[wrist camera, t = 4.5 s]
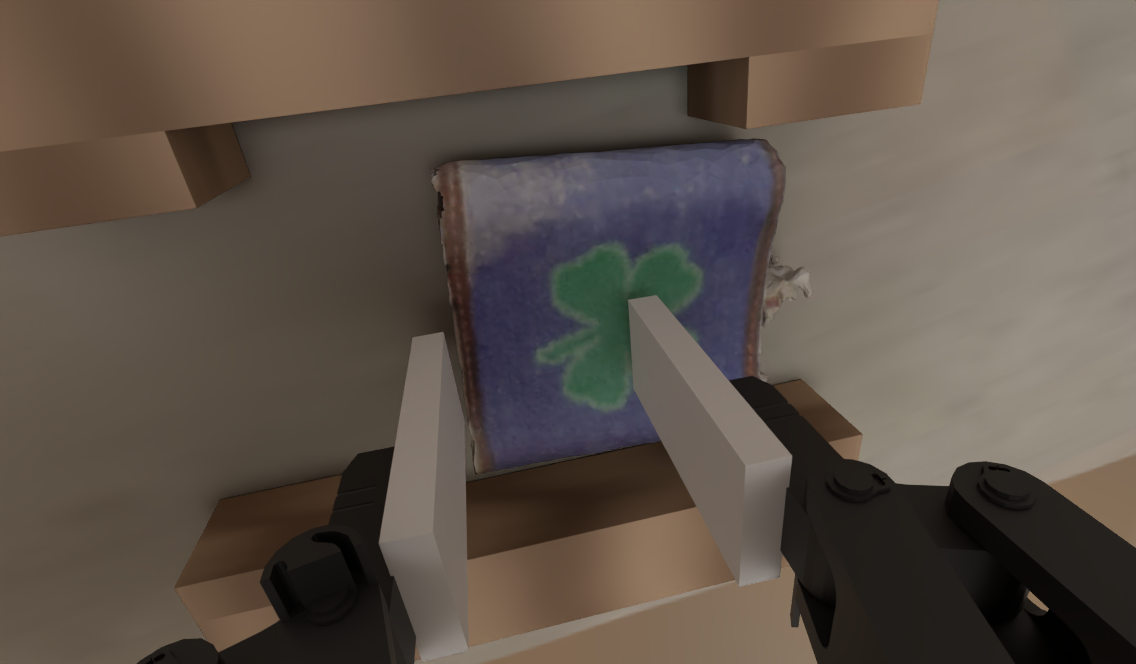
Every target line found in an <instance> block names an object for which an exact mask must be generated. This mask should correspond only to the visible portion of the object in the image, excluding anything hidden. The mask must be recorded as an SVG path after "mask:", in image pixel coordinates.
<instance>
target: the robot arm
mask: <svg viewBox="0 0 1136 664" xmlns="http://www.w3.org/2000/svg"><path fill="white" fill-rule="evenodd" d="M628 306H629V322H630V339H631V355H632V371H633V388H634V390H635V392H636V394H637V396H638V398H639V400H640V402H641V404H642V405H643V407H644V409H645V411H646V413H647V415H648V417H649V419H650V420H651V422H652V424H653V426H654V428H655V430H656V432H657V434H658V435H659V437H660V439H661V441H662V443H663V445H664V447H665V449H666V450H667V452H668V454H669V456H670V458H671V460H672V462H673V464H674V466H675V467H676V469H677V471H678V473H679V475H680V477H681V479H682V481H683V482H684V484H685V486H686V488H687V490H688V492H689V494H690V496H691V497H692V499H693V501H694V503H695V505H696V507H697V509H698V511H699V512H700V514H701V516H702V518H703V520H704V522H705V524H706V526H707V527H708V529H709V531H710V533H711V535H712V537H713V539H714V541H715V542H716V544H717V546H718V548H719V550H720V552H721V554H722V556H723V557H724V559H725V561H726V563H727V565H728V567H729V569H730V571H731V572H732V574H733V576H734V578H735V580H736V582H737V584H738V585H739V587H740V586H744V585H748V584H753V583H757V582H761V581H765V580H770V579H773V578H778V577H780V571H781V561H782V554H783V556H784V557H785V559H786V560H787V562H788V563H789V565H790V566H791V568H792V569H793V571H794V572H795V580H794V588H793V597H792V605H791V613H790V617H791V626H792V627H798V625H799V617H800V614H801V616H802V619H803V622H804V625H805V628H806V631H807V634H808V636H809V640H810V643H811V646H812V649H813V651H814V654H815V657H816V660H817V663H818V664H1136V548H1135V547H1134V546H1132V545H1131V544H1129V543H1128V542H1127V541H1125V540H1124V539H1122V538H1121V537H1120V536H1118V535H1117V534H1115V533H1114V532H1113V531H1111V530H1110V529H1108V528H1107V527H1106V526H1104V525H1103V524H1102V523H1100V522H1099V521H1097V520H1096V519H1095V518H1093V517H1092V516H1090V515H1089V514H1088V513H1086V512H1085V511H1083V510H1082V509H1080V508H1079V507H1078V506H1077V505H1075V504H1074V503H1072V502H1071V501H1070V500H1068V499H1067V498H1065V497H1064V496H1063V495H1061V494H1060V493H1058V492H1057V491H1056V490H1054V489H1053V488H1051V487H1050V486H1049V485H1047V484H1046V483H1044V482H1043V481H1041V480H1039V479H1038V478H1036V477H1034V476H1032V475H1031V474H1029V473H1027V472H1025V471H1022V470H1019V469H1017V468H1014V467H1011V466H1008V465H1005V464H998V463H992V462H986V461H985V462H970V463H967V464H964V465H962V466H960V467H958V468H957V469H956V470H955V472H954V474H953V476H952V478H951V482H950V485H949V486H928V485H905V484H896V483H895V482H894V481H893V480H892V479H891V478H890V477H889V476H888V475H887V474H886V473H884V472H883V471H881V470H879V469H877V468H876V467H874V466H872V465H870V464H867V463H863V462H860V461H857V460H853V459H844V458H843V457H842V456H841V455H840V454H839V453H838V452H837V451H836V450H835V449H834V448H833V447H832V446H831V445H830V444H829V443H828V442H827V441H826V440H825V439H824V438H823V437H822V436H821V435H820V434H819V433H818V432H817V431H816V430H815V428H814V427H813V426H812V425H811V424H810V423H809V422H808V421H807V420H806V419H805V418H804V417H803V416H800V415H799V412H798V411H797V410H796V409H795V408H794V407H793V406H792V405H791V404H788V401H787V400H786V399H785V398H784V396H783V395H782V394H781V393H780V392H779V391H778V390H777V389H776V388H775V387H774V386H772V385H770V384H768V383H766V382H764V381H762V380H760V379H758V378H756V377H754V376H748V377H743V378H738V379H732V380H728V379H727V378H726V377H725V376H724V374H723V373H722V372H721V371H720V370H719V369H718V367H717V366H716V365H715V364H714V363H713V361H712V360H711V359H710V358H709V357H708V355H707V354H706V353H705V352H704V351H703V350H702V348H701V347H700V346H699V345H698V344H697V342H696V341H695V340H694V339H693V338H692V337H691V335H690V334H689V333H688V332H687V331H686V329H685V328H684V327H683V326H682V325H681V324H680V322H679V321H678V320H677V319H676V318H675V316H674V315H673V314H672V313H671V312H670V310H669V309H668V308H667V307H666V306H665V305H664V303H663V302H662V301H661V300H660V299H659V297H658V296H657V295H654V296H648V297H642V298H636V299H631V300H628ZM337 495H338V496H337V497H336V498H335V502H334V506H333V509H332V510H333V513H332V514H331V516H330V520H329V523H328V525H325V526H321V527H316V528H312V529H310V530H308V531H306V532H304V533H302V534H300V535H298V536H296V537H294V538H292V539H291V540H290V541H289V542H287V543H286V544H285V545H283V546H282V547H281V548H280V549H278V550H277V551H276V552H275V554H274V555H273V556H272V558H271V559H270V560H269V562H268V563H267V564H266V565H265V567H264V570H263V573H262V576H261V579H260V584H261V586H262V588H263V590H264V591H265V593H266V595H267V597H268V599H269V601H270V603H271V605H272V606H273V608H274V610H275V612H276V614H277V616H278V618H279V619H280V620H279V621H277V622H276V623H274V624H273V625H271V626H269V627H268V628H266V629H264V630H262V631H261V632H259V633H257V634H255V635H253V636H251V637H249V638H247V639H244V640H242V641H240V642H238V643H236V644H234V645H232V646H230V647H228V648H226V649H224V650H222V651H220V652H218V651H217V650H216V648H215V646H214V645H213V644H211V643H209V642H207V641H205V640H203V639H201V638H199V639H183V640H180V641H177V642H174V643H172V644H169V645H166V646H163V647H161V648H160V649H158V650H156V651H155V652H153V653H152V654H150V655H148V656H147V657H145V658H144V659H142V660H140V661H139V662H138V663H137V664H414V660H415V646H417V648H418V651H419V654H420V657H421V659H422V662H425V661H429V660H433V659H437V658H442V657H446V656H450V655H454V654H458V653H463V652H467V651H469V633H468V578H467V524H466V469H465V421H464V416H463V412H462V408H461V404H460V399H459V395H458V391H457V387H456V382H455V378H454V374H453V370H452V365H451V361H450V357H449V353H448V349H447V344H446V340H445V336H444V332H440V333H434V334H428V335H422V336H417V337H413V338H412V344H411V350H410V357H409V363H408V369H407V375H406V381H405V387H404V393H403V399H402V405H401V411H400V417H399V423H398V429H397V436H396V442H395V447H390V448H385V449H380V450H374V451H369V452H364V453H359V454H357V456H356V457H355V458H354V459H353V461H352V462H351V463H350V464H349V466H348V467H347V468H346V469H345V471H344V472H343V473H342V477H341V481H340V484H339V488H338V491H337ZM1029 591H1031V592H1032V593H1033V594H1034V595H1035V596H1036V597H1037V598H1038V599H1039V600H1040V601H1042V602H1043V603H1044V604H1045V605H1046V606H1047V607H1048V608H1049V610H1048V612H1047V611H1045V610H1042V609H1040V608H1039V607H1038V606H1036V605H1035V604H1034V603H1032V602H1031V601H1030V600H1029V599H1028V598H1027V595H1028V593H1029Z"/></svg>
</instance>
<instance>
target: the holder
mask: <svg viewBox="0 0 1136 664" xmlns="http://www.w3.org/2000/svg"><path fill="white" fill-rule="evenodd" d="M938 2H939V0H0V236H7V235H14V234H20V233H27V232H34V231H41V230H48V229H55V228H62V227H69V226H76V225H83V224H90V223H97V222H104V221H111V220H118V219H125V218H132V217H139V216H146V215H152V214H159V213H166V212H173V211H180V210H187V209H194V208H198V207H199V206H201V205H203V204H205V203H206V202H208V201H210V200H211V199H213V198H215V197H217V196H218V195H220V194H222V193H223V192H225V191H227V190H229V189H230V188H232V187H234V186H235V185H237V184H239V183H241V182H242V181H244V180H246V179H247V178H249V177H251V176H250V173H249V170H248V168H247V165H246V162H245V159H244V157H243V154H242V151H241V148H240V146H239V143H238V140H237V137H236V135H235V132H234V129H233V126H232V124H231V122H239V121H247V120H255V119H263V118H271V117H279V116H287V115H295V114H303V113H310V112H318V111H326V110H334V109H342V108H350V107H358V106H366V105H374V104H382V103H389V102H397V101H405V100H413V99H421V98H429V97H437V96H445V95H453V94H460V93H468V92H476V91H484V90H492V89H500V88H508V87H516V86H524V85H532V84H539V83H547V82H555V81H563V80H571V79H579V78H587V77H595V76H603V75H611V74H618V73H626V72H634V71H642V70H650V69H658V68H666V67H674V66H682V65H688V116H691V117H696V118H700V119H704V120H709V121H713V122H718V123H722V124H726V125H731V126H735V127H740V128H744V129H750V128H757V127H764V126H771V125H778V124H785V123H792V122H799V121H806V120H813V119H820V118H826V117H833V116H840V115H847V114H854V113H861V112H868V111H875V110H882V109H889V108H896V107H903V106H910V105H917V104H921V99H922V94H923V88H924V82H925V76H926V71H927V65H928V59H929V54H930V48H931V42H932V37H933V31H934V25H935V19H936V14H937V8H938ZM772 386H774V387H775V388H776V389H777V390H778V391H779V392H780V393H781V394H782V395H783V396H784V398H785V399H786V400H787V401H788V404H791V405H792V406H793V407H794V408H795V409H796V410H797V411H798V412H799V415H800V416H803V417H804V418H805V419H806V420H807V421H808V422H809V423H810V424H811V425H812V426H813V427H814V428H815V430H816V431H817V432H818V433H819V434H820V435H821V436H822V437H823V438H824V439H825V440H826V441H827V442H828V443H829V444H830V445H831V446H832V447H833V448H834V449H835V450H836V451H837V452H838V453H839V454H840V455H841V456H842V457H843V458H844V459H853V460H857V461H858V458H859V453H860V447H861V441H862V435H863V434H862V433H861V432H859V431H858V430H857V429H856V428H855V427H854V426H853V425H852V424H851V423H849V422H848V421H847V420H846V419H845V418H844V417H843V416H842V415H841V414H839V413H838V412H837V411H836V410H835V409H834V408H833V407H832V406H831V405H829V404H828V403H827V402H826V401H825V400H824V399H823V398H822V397H821V396H819V395H818V394H817V393H816V392H815V391H814V390H813V389H812V388H811V387H809V386H808V385H807V384H806V383H805V382H804V381H803V380H802V379H801V380H797V381H792V382H787V383H782V384H777V385H772ZM341 477H342V475H338V476H333V477H328V478H323V479H319V480H314V481H309V482H304V483H299V484H294V485H290V486H285V487H280V488H275V489H270V490H266V491H261V492H256V493H251V494H246V495H241V496H237V497H232V498H227V499H222V500H220V501H219V503H218V505H217V507H216V509H215V511H214V512H213V514H212V516H211V518H210V520H209V522H208V524H207V526H206V528H205V530H204V532H203V534H202V536H201V538H200V539H199V541H198V543H197V545H196V547H195V549H194V551H193V553H192V555H191V557H190V559H189V561H188V563H187V564H186V566H185V568H184V570H183V572H182V574H181V576H180V578H179V580H178V582H177V584H176V586H175V588H174V589H175V591H176V592H177V594H178V596H179V597H180V599H181V600H182V602H183V603H184V605H185V606H186V608H187V610H188V611H189V613H190V614H191V616H192V617H193V619H194V620H195V622H196V623H197V625H198V627H199V628H200V630H201V631H202V633H203V634H204V636H205V637H206V639H207V640H208V642H209V643H211V644H213V645H214V646H215V648H216V650H217V651H218V652H220V651H222V650H224V649H226V648H228V647H230V646H232V645H234V644H236V643H238V642H240V641H242V640H244V639H247V638H249V637H251V636H253V635H255V634H257V633H259V632H261V631H262V630H264V629H266V628H268V627H269V626H271V625H273V624H274V623H276V622H277V621H279V620H280V619H279V618H278V616H277V614H276V612H275V610H274V608H273V606H272V605H271V603H270V601H269V599H268V597H267V595H266V593H265V591H264V590H263V588H262V586H261V584H260V579H261V576H262V573H263V570H264V567H265V565H266V564H267V563H268V562H269V560H270V559H271V558H272V556H273V555H274V554H275V552H276V551H277V550H278V549H280V548H281V547H282V546H283V545H285V544H286V543H287V542H289V541H290V540H291V539H292V538H294V537H296V536H298V535H300V534H302V533H304V532H306V531H308V530H310V529H312V528H316V527H321V526H325V525H328V523H329V520H330V516H331V514H332V513H333V510H332V509H333V506H334V502H335V498H336V497H337V496H338V495H337V491H338V488H339V484H340V481H341ZM466 524H467V578H468V633H469V647H470V646H474V645H478V644H482V643H486V642H490V641H494V640H498V639H502V638H506V637H510V636H514V635H518V634H522V633H526V632H530V631H534V630H538V629H542V628H546V627H550V626H554V625H558V624H562V623H566V622H569V621H573V620H577V619H581V618H585V617H589V616H593V615H597V614H601V613H605V612H609V611H613V610H617V609H621V608H625V607H629V606H633V605H637V604H641V603H645V602H649V601H653V600H657V599H661V598H665V597H669V596H673V595H677V594H681V593H685V592H689V591H692V590H696V589H700V588H704V587H708V586H712V585H716V584H720V583H724V582H728V581H732V580H735V578H734V576H733V574H732V572H731V571H730V569H729V567H728V565H727V563H726V561H725V559H724V557H723V556H722V554H721V552H720V550H719V548H718V546H717V544H716V542H715V541H714V539H713V537H712V535H711V533H710V531H709V529H708V527H707V526H706V524H705V522H704V520H703V518H702V516H701V514H700V512H699V511H698V509H697V507H696V505H695V503H694V501H693V499H692V497H691V496H690V494H689V492H688V490H687V488H686V486H685V484H684V482H683V481H682V479H681V477H680V475H679V473H678V471H677V469H676V467H675V466H674V464H673V462H672V460H671V458H670V456H669V454H668V452H667V450H666V449H665V447H664V445H663V443H662V441H659V442H655V443H650V444H645V445H641V446H636V447H631V448H627V449H622V450H617V451H613V452H608V453H603V454H599V455H594V456H589V457H585V458H580V459H575V460H571V461H566V462H561V463H557V464H552V465H548V466H543V467H538V468H534V469H529V470H524V471H520V472H515V473H510V474H506V475H501V476H496V477H492V478H487V479H482V480H478V481H473V482H468V483H466ZM788 566H790V565H789V563H788V562H787V560H786V559H785V557H784V556H783V554H782V561H781V568H784V567H788ZM419 659H421V657H420V654H419V651H418V648H417V646H415V660H419ZM415 660H414V661H415Z"/></svg>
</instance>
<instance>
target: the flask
mask: <svg viewBox="0 0 1136 664" xmlns="http://www.w3.org/2000/svg"><path fill="white" fill-rule="evenodd" d="M430 170H431V171H432V174H431V176H430V177H431V179H432V180H431V182H432V184H433V186H434V188H435V190H436V192H438V206H437V210H438V213H437V217H438V222H439V227H440V228H439V229H440V230H441V243H443V252H444V257H443V261H444V265H446V266H447V272H448V280H447V284H448V287H449V297H450V306H451V310H452V316H453V324H454V333H455V339H456V344H457V354H458V359H459V362H460V366H461V370H462V374H463V376H462V378H463V385H464V388H463V392H464V400H465V402H466V407H467V421H468V426H469V432H471V436H472V441H471V447H472V453H473V465H474V471H475V476H476V474H481V473H487V472H493V471H498V470H501V469H508V468H514V467H519V466H524V465H528V464H532V463H536V462H544V461H549V460H554V459H559V458H564V457H570V456H578V455H585V454H591V453H596V454H598V453H601V452H604V451H607V450H614V449H618V448H620V447H626V446H631V445H637V444H645V443H655V442H658V441H661V439H660V437H659V435H658V434H657V432H656V430H655V428H654V426H653V424H652V422H651V420H650V419H649V417H648V415H647V413H646V411H645V409H644V407H643V405H642V404H641V402H640V400H639V398H638V396H637V394H636V392H635V390H634V388H633V371H632V355H631V339H630V322H629V306H628V300H631V299H636V298H642V297H648V296H654V295H657V296H658V297H659V299H660V300H661V301H662V302H663V303H664V305H665V306H666V307H667V308H668V309H669V310H670V312H671V313H672V314H673V315H674V316H675V318H676V319H677V320H678V321H679V322H680V324H681V325H682V326H683V327H684V328H685V329H686V331H687V332H688V333H689V334H690V335H691V337H692V338H693V339H694V340H695V341H696V342H697V344H698V345H699V346H700V347H701V348H702V350H703V351H704V352H705V353H706V354H707V355H708V357H709V358H710V359H711V360H712V361H713V363H714V364H715V365H716V366H717V367H718V369H719V370H720V371H721V372H722V373H723V374H724V376H725V377H726V378H727V379H728V380H732V379H738V378H743V377H748V376H754V377H756V378H758V379H760V380H762V381H764V382H766V381H767V375H765V374H764V373H762V372H761V371H760V361H759V353H762V351H761V343H762V342H761V338H760V332H761V326H764V327H765V326H766V325H767V324H768V323H769V322H770V321H771V320H773V316H774V314H775V313H776V312H777V310H778V309H779V308H780V306H781V304H782V302H783V301H784V300H785V299H786V298H788V299H789V300H790V301H792V299H795V300H796V297H797V292H798V287H800V288H801V289H803V291H804V295H805V297H806V298H809V297H810V295H811V294H812V292H813V291H812V289H811V287H810V285H809V281H810V272H809V271H808V270H807V269H806V268H805V267H800V268H798V269H796V271H794V270H793V269H792V268H791V267H788V266H778V267H773V268H771V267H769V260H770V256H771V251H772V241H773V239H774V236H775V233H776V228H777V222H778V216H779V213H780V210H781V207H782V203H783V199H784V192H785V185H786V183H785V171H786V167H785V166H784V164H783V163H782V162H781V160H780V159H779V156H778V153H777V151H776V150H775V149H774V148H773V147H771V145H770V144H769V143H768V141H767V140H765V139H750V140H745V139H738V140H729V141H719V142H711V143H698V144H683V145H671V146H659V147H647V148H636V149H623V150H611V151H601V152H585V153H564V154H554V155H545V156H524V157H512V158H492V159H489V160H459V161H451V162H448V163H445V164H443V165H440V166H438V167H436V168H434V169H430ZM777 262H779V257H775V256H774V257H773V258H772V259H771V263H772V264H775V263H777Z"/></svg>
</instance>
